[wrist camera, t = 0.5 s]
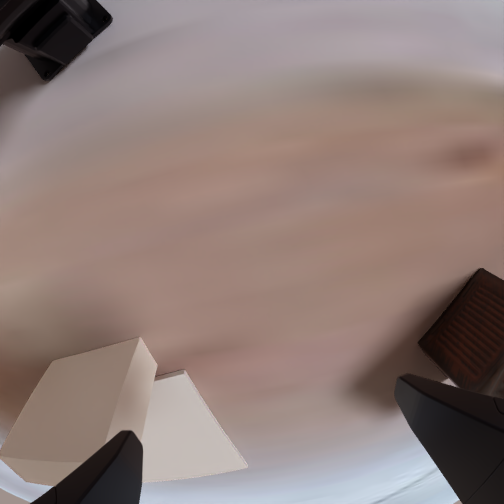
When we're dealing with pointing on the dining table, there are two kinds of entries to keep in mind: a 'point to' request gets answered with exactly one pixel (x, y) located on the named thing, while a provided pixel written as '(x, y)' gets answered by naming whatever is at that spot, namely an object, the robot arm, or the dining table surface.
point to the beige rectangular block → (80, 410)
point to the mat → (183, 434)
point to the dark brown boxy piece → (471, 337)
